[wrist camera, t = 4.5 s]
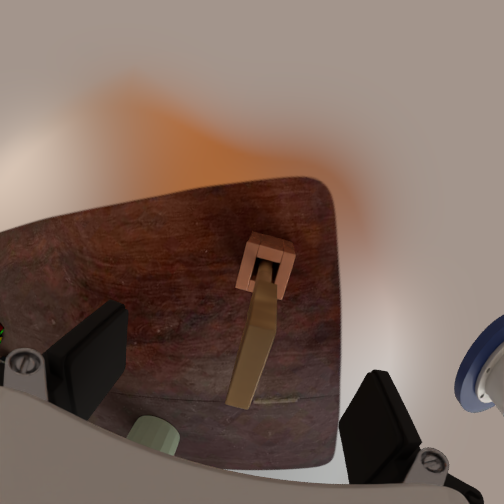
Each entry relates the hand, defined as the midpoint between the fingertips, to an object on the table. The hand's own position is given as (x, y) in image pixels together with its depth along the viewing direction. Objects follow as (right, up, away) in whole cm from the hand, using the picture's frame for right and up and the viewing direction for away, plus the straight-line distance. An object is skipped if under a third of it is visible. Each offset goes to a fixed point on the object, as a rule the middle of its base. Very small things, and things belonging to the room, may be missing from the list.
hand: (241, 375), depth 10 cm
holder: (+2, +4, +18) cm, 18 cm away
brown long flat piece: (+2, +4, +18) cm, 18 cm away
